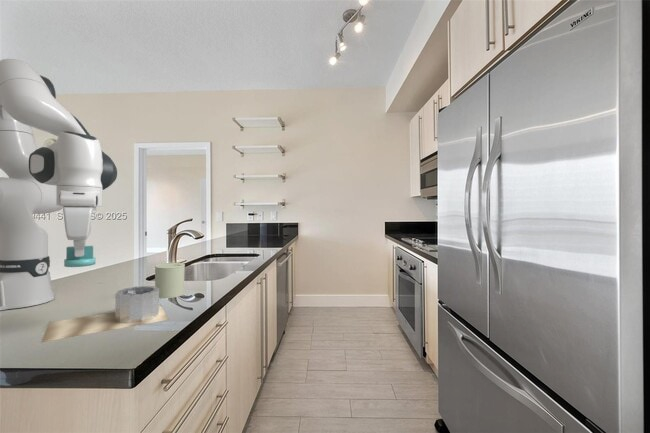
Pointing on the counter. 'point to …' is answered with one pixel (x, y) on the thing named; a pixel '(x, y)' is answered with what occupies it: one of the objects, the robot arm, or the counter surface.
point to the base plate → (91, 325)
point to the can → (170, 279)
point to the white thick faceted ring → (137, 304)
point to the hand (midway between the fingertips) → (80, 255)
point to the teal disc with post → (79, 261)
